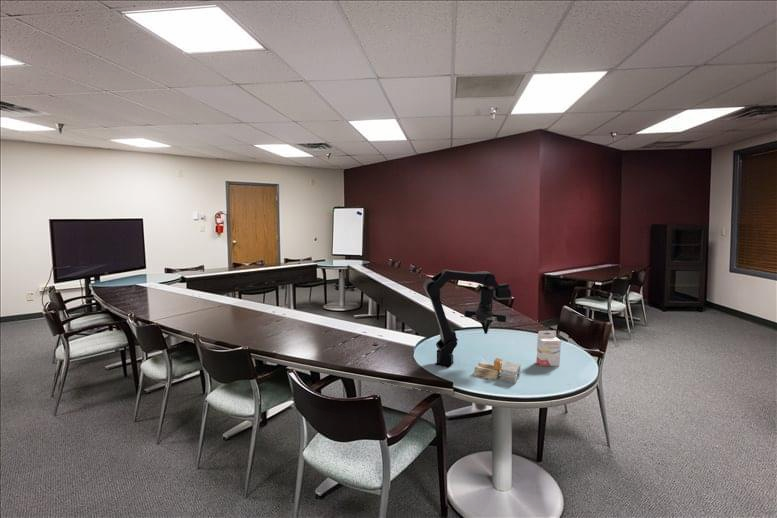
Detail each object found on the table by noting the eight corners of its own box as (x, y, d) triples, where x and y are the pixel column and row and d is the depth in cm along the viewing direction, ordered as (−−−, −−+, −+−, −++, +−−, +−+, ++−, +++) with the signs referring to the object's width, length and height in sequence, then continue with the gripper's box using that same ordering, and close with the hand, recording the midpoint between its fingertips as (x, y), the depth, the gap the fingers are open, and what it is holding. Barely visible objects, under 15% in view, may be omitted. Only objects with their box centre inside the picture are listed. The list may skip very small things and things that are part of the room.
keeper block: (500, 380, 154) (500, 368, 153) (505, 372, 160) (505, 361, 160) (515, 383, 150) (515, 371, 150) (520, 375, 157) (520, 364, 156)
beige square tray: (473, 375, 158) (473, 368, 158) (480, 366, 167) (480, 360, 166) (495, 380, 153) (496, 373, 153) (502, 371, 162) (502, 364, 161)
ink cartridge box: (540, 366, 166) (542, 334, 164) (536, 362, 171) (537, 330, 168) (560, 366, 166) (561, 333, 164) (554, 361, 171) (556, 329, 169)
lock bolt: (493, 373, 157) (494, 360, 156) (495, 370, 160) (496, 358, 159) (513, 377, 153) (513, 364, 152) (515, 374, 156) (515, 362, 155)
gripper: (460, 301, 167) (459, 335, 169) (502, 306, 157) (502, 342, 159) (468, 296, 176) (468, 328, 178) (509, 300, 166) (508, 334, 169)
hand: (485, 333), depth 171 cm, fingers closed
